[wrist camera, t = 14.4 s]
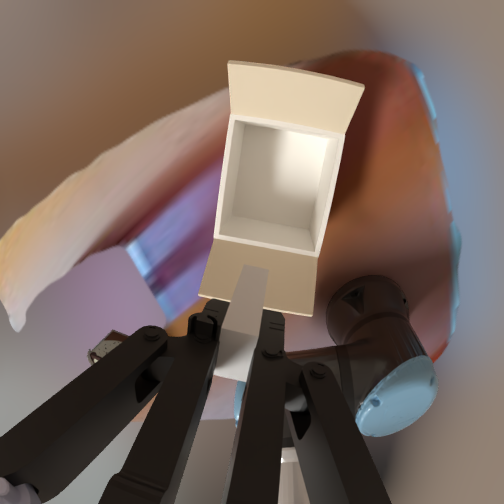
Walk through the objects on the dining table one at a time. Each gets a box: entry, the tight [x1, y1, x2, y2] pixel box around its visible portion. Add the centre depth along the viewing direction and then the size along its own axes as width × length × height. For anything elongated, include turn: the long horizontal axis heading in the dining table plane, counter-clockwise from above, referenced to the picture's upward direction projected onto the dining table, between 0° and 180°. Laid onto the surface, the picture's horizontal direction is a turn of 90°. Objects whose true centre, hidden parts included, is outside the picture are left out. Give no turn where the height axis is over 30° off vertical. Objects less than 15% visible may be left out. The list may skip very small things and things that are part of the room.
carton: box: [214, 114, 345, 257], centre depth 37 cm, size 13×15×10 cm
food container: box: [87, 330, 129, 366], centre depth 53 cm, size 12×6×10 cm, turn 77°
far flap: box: [198, 238, 318, 317], centre depth 33 cm, size 13×8×1 cm
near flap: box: [228, 60, 365, 135], centre depth 26 cm, size 13×8×1 cm
